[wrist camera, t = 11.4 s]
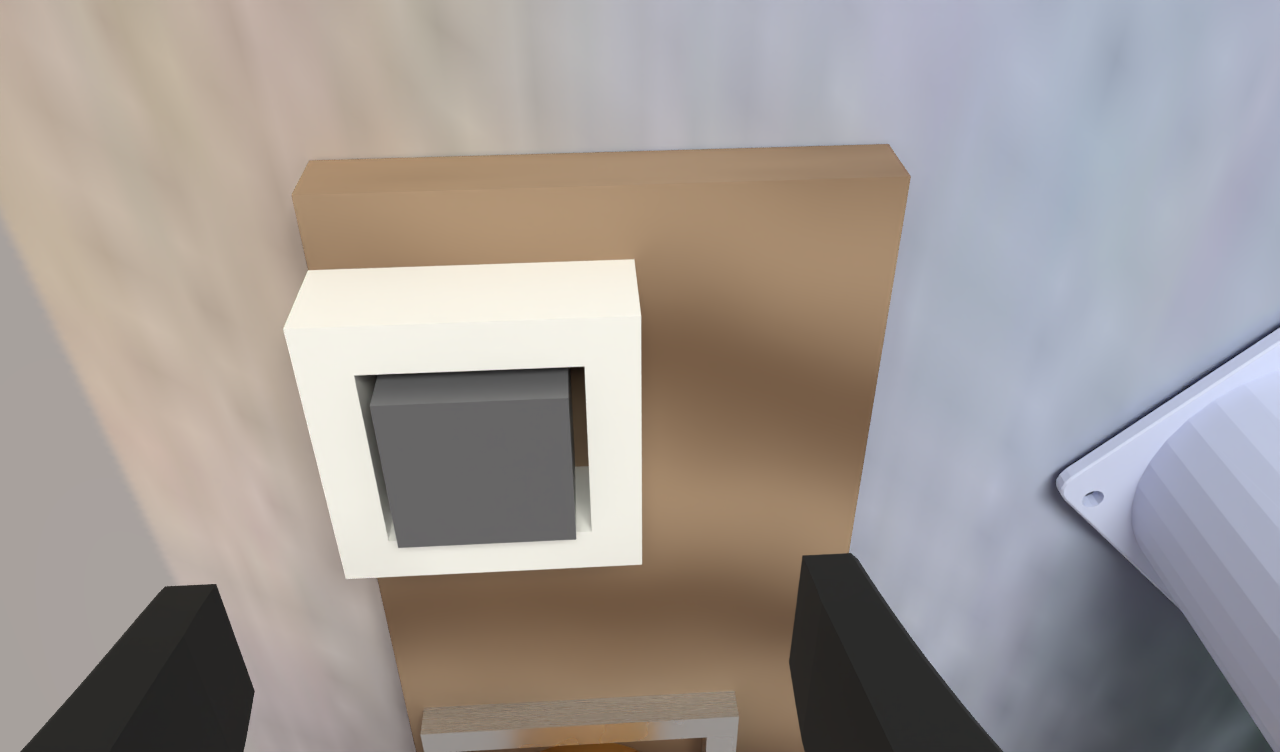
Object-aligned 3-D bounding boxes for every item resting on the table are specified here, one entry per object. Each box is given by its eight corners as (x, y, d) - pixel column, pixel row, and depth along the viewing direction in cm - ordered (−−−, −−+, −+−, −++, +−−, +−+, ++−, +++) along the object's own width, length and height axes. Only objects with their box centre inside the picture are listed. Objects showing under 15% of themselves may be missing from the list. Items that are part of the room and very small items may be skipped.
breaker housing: (635, 498, 22) (641, 564, 20) (362, 511, 22) (346, 579, 20) (634, 258, 19) (640, 316, 17) (308, 270, 18) (283, 328, 17)
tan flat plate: (789, 813, 33) (798, 858, 31) (449, 834, 32) (445, 881, 31) (888, 143, 19) (910, 176, 18) (309, 160, 19) (291, 195, 17)
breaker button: (575, 458, 21) (576, 539, 19) (413, 466, 21) (398, 547, 19) (567, 324, 19) (568, 397, 17) (389, 330, 19) (369, 406, 17)
